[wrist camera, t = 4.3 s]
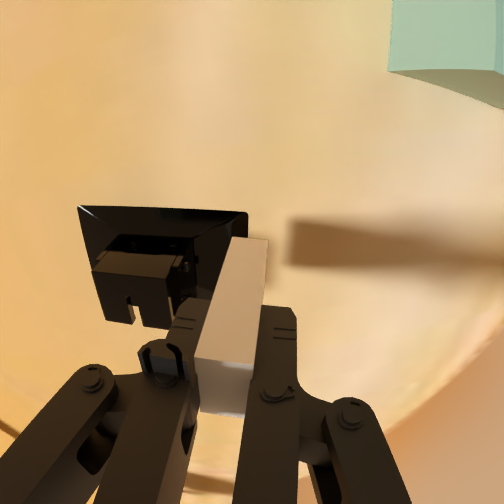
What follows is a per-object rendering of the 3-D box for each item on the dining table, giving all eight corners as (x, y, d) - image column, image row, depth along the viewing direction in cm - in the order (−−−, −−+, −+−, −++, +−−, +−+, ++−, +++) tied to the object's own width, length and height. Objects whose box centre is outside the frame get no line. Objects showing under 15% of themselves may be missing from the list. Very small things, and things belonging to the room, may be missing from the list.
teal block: (392, -42, 8) (474, -117, 1) (499, 2, 8) (610, -10, 1) (387, 71, 11) (494, 70, 4) (493, 106, 11) (613, 149, 4)
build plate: (87, 289, 20) (52, 334, 16) (62, 186, 16) (11, 219, 12) (273, 310, 19) (268, 372, 15) (282, 189, 15) (279, 233, 11)
